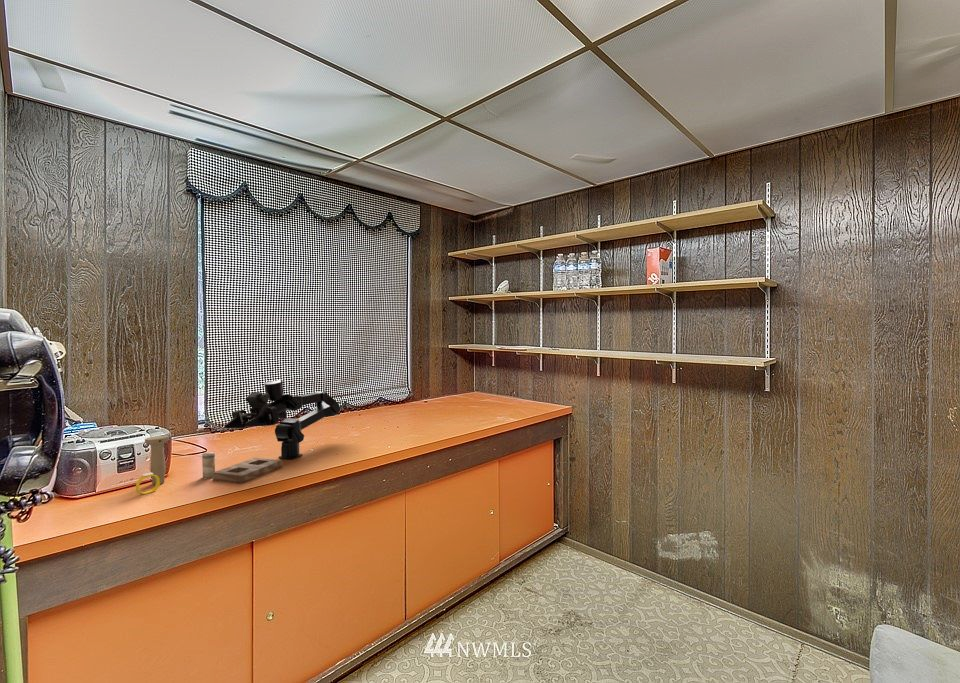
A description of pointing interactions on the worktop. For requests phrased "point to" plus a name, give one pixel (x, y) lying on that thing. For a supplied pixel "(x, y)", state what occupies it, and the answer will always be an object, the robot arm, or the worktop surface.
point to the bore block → (247, 470)
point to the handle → (157, 457)
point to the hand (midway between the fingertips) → (235, 425)
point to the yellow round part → (146, 477)
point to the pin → (208, 464)
